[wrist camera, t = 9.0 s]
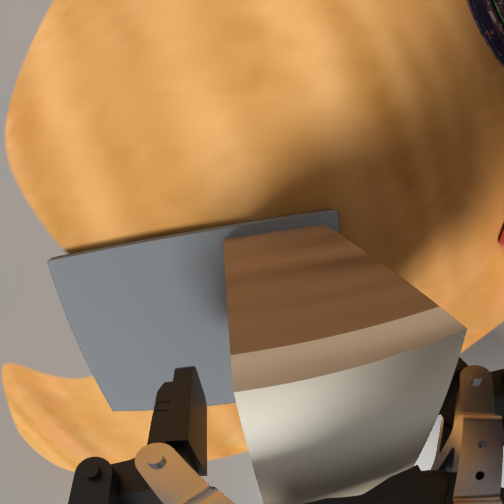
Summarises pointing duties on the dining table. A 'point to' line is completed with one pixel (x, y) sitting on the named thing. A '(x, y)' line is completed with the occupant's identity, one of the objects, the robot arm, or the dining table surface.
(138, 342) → the mat
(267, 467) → the brown and white block
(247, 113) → the dining table surface
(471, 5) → the storage jar
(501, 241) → the cracker box
